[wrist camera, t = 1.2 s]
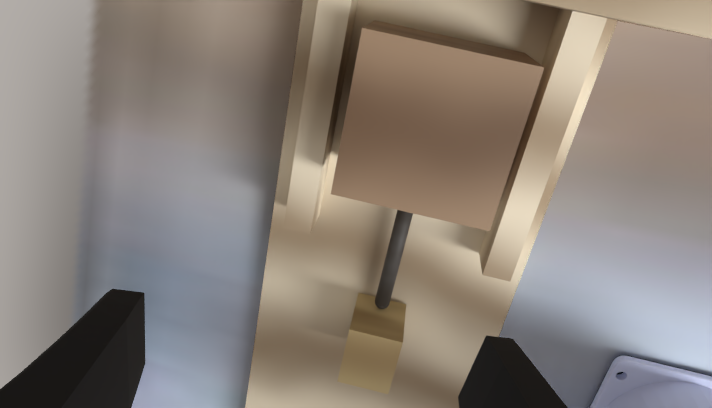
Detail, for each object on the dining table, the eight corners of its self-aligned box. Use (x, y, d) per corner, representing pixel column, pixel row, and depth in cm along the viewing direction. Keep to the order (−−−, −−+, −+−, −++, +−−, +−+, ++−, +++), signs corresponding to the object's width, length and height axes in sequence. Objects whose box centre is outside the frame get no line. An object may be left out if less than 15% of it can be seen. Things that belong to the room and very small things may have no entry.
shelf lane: (437, 482, 31) (439, 659, 23) (245, 432, 32) (179, 587, 24) (621, -14, 20) (751, -12, 12) (319, -77, 21) (244, -116, 13)
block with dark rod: (427, 361, 27) (426, 420, 23) (313, 332, 27) (294, 387, 23) (524, 52, 20) (544, 67, 17) (374, 20, 21) (362, 27, 17)
